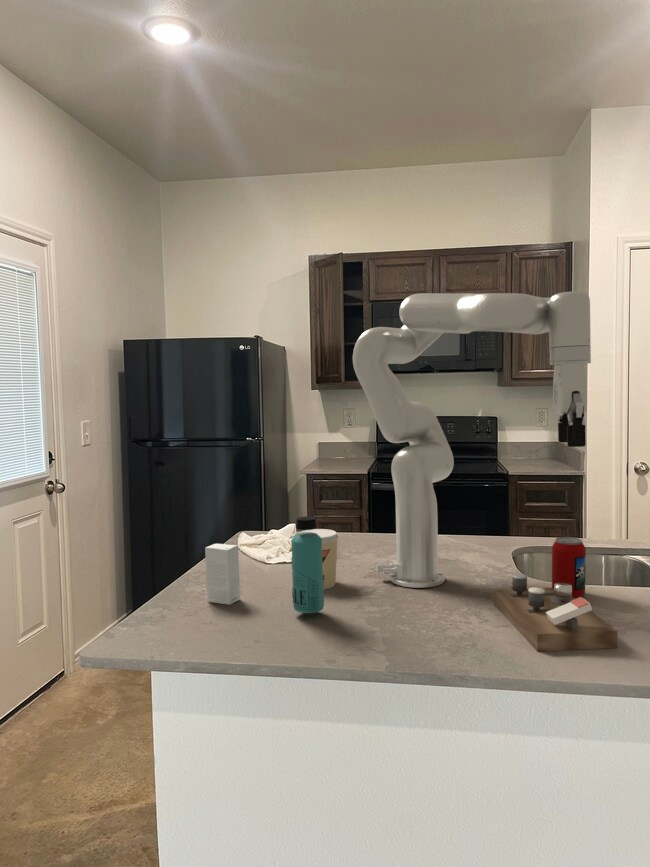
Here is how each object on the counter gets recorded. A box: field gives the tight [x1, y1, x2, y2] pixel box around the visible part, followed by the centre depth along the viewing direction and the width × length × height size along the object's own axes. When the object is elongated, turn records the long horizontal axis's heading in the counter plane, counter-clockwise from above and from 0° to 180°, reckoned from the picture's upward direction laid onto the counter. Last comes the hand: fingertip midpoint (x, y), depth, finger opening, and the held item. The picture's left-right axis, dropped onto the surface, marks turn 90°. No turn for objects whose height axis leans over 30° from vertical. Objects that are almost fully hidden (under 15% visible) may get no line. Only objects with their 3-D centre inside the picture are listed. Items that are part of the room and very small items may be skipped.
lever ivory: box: [527, 586, 545, 610], centre depth 124 cm, size 3×3×4 cm
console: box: [493, 587, 618, 652], centre depth 126 cm, size 14×24×5 cm, turn 3°
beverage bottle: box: [290, 515, 326, 614], centre depth 133 cm, size 6×7×20 cm
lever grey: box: [511, 572, 528, 595], centre depth 133 cm, size 3×3×4 cm
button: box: [554, 583, 572, 598], centre depth 129 cm, size 3×3×2 cm
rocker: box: [546, 596, 593, 625], centre depth 117 cm, size 7×3×1 cm, turn 93°
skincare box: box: [204, 543, 241, 606], centre depth 143 cm, size 6×4×12 cm
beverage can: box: [551, 536, 587, 599], centre depth 142 cm, size 7×7×12 cm
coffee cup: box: [299, 528, 339, 590], centre depth 153 cm, size 9×9×12 cm
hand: (571, 444), depth 130 cm, fingers open, 9 cm apart
